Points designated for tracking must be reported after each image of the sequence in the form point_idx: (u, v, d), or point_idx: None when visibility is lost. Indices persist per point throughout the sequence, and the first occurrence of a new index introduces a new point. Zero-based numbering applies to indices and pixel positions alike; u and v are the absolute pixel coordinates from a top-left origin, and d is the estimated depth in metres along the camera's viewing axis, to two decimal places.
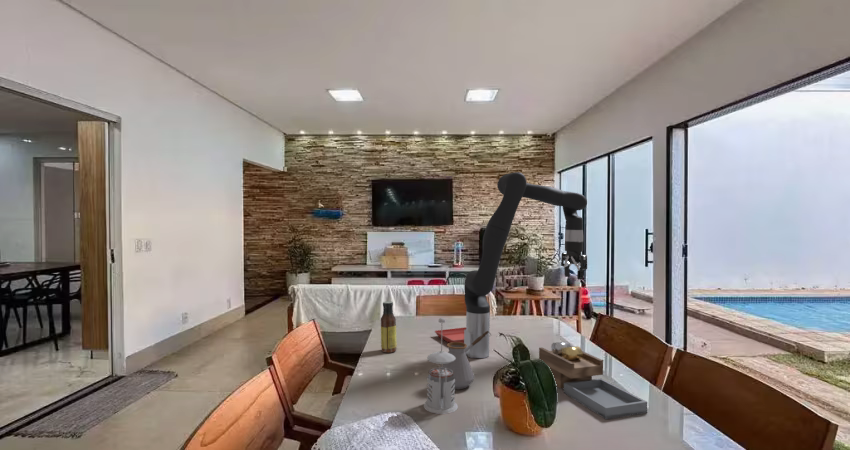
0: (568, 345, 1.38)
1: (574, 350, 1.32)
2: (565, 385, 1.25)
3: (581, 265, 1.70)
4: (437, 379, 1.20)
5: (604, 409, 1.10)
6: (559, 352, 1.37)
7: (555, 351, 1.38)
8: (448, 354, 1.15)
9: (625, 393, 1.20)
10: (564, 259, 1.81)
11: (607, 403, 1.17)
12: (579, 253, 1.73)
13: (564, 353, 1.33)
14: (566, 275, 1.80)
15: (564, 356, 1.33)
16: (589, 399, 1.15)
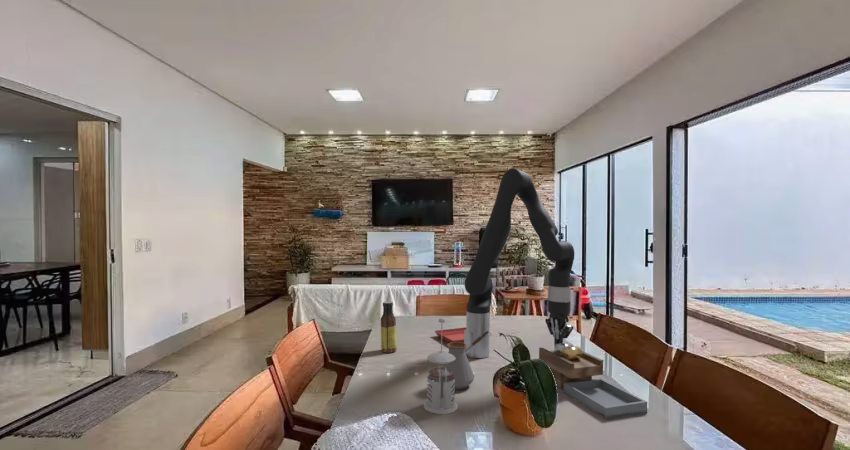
0: None
1: (573, 349, 1.32)
2: (565, 385, 1.25)
3: (561, 335, 1.37)
4: (437, 379, 1.20)
5: (604, 409, 1.10)
6: None
7: (557, 352, 1.37)
8: (448, 354, 1.15)
9: (625, 393, 1.20)
10: (551, 325, 1.44)
11: (607, 403, 1.17)
12: (565, 316, 1.37)
13: (564, 353, 1.33)
14: None
15: (564, 356, 1.33)
16: (589, 399, 1.15)
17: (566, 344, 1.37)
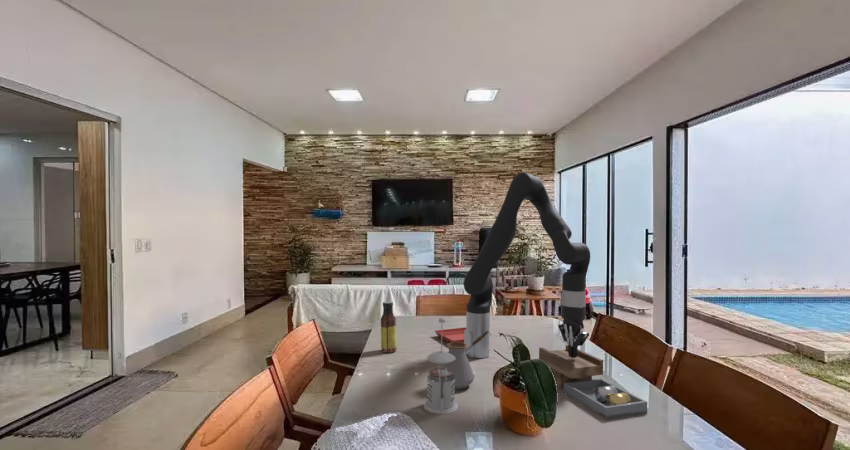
0: None
1: None
2: (565, 385, 1.25)
3: (576, 342, 1.30)
4: (437, 379, 1.20)
5: (604, 409, 1.10)
6: (600, 387, 1.19)
7: (600, 393, 1.18)
8: (448, 354, 1.15)
9: None
10: (564, 331, 1.37)
11: None
12: (580, 322, 1.30)
13: (611, 404, 1.13)
14: None
15: None
16: (589, 399, 1.15)
17: None
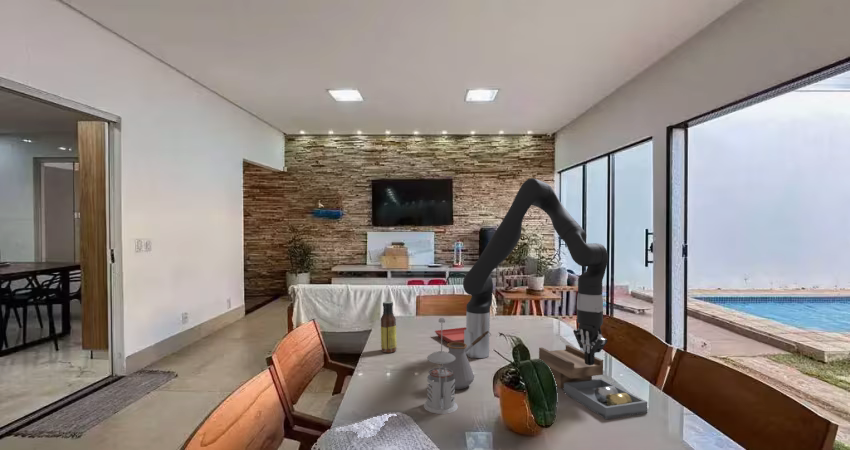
0: None
1: None
2: (565, 385, 1.25)
3: (593, 348, 1.22)
4: (437, 379, 1.20)
5: (604, 409, 1.10)
6: (601, 388, 1.18)
7: (601, 393, 1.17)
8: (448, 354, 1.15)
9: None
10: (580, 337, 1.29)
11: None
12: (598, 328, 1.22)
13: (612, 404, 1.13)
14: None
15: None
16: (589, 399, 1.15)
17: None
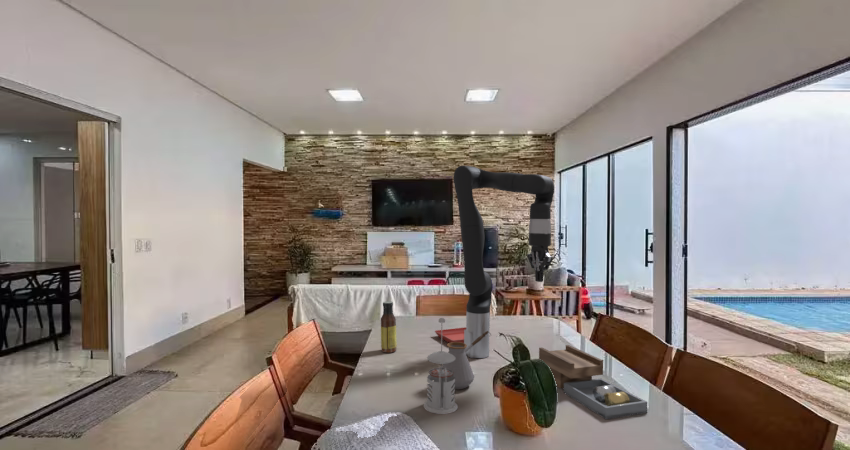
0: None
1: None
2: (565, 385, 1.25)
3: (541, 266, 1.40)
4: (437, 379, 1.20)
5: (604, 409, 1.10)
6: None
7: (598, 391, 1.18)
8: (448, 354, 1.15)
9: None
10: (532, 259, 1.46)
11: None
12: (545, 248, 1.39)
13: (610, 403, 1.14)
14: None
15: (612, 402, 1.13)
16: (589, 399, 1.15)
17: None
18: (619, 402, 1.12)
